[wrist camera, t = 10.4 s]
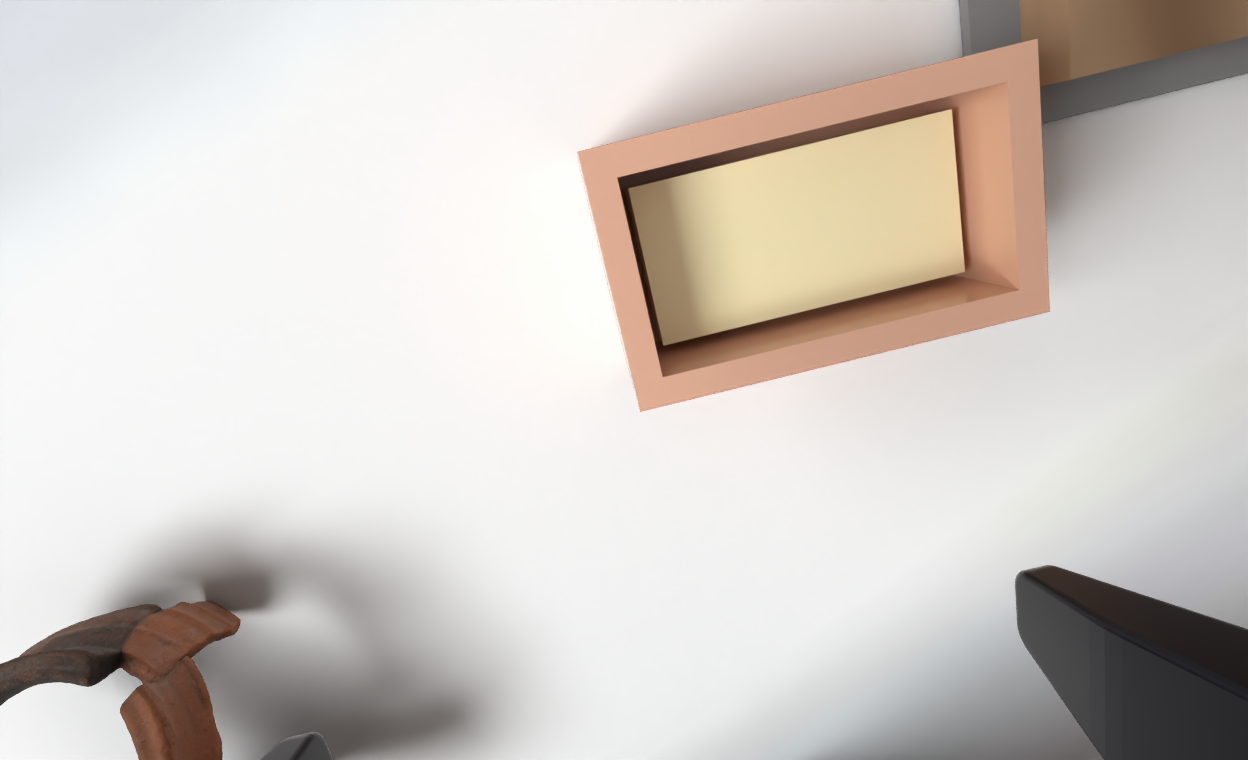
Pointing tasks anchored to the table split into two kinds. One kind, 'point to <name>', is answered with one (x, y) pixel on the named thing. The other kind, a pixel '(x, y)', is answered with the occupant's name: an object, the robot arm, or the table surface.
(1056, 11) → the lid
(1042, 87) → the mat
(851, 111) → the dish
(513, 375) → the table surface
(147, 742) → the dark brown looped piece
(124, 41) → the table surface
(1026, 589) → the robot arm
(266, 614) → the table surface
